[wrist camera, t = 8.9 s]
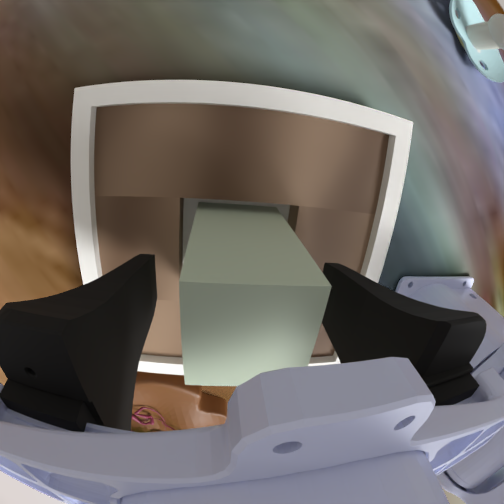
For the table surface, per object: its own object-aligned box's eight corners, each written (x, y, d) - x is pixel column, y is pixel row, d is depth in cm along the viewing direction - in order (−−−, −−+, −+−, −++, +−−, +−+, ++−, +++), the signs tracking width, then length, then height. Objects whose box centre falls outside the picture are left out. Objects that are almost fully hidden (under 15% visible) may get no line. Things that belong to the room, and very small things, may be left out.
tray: (383, 120, 14) (413, 122, 11) (331, 342, 20) (344, 370, 18) (99, 93, 12) (74, 87, 9) (115, 337, 18) (104, 366, 15)
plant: (99, 452, 27) (88, 518, 17) (21, 354, 19) (-23, 441, 8) (243, 457, 28) (253, 533, 18) (223, 356, 20) (235, 497, 10)
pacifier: (461, -5, 10) (427, 2, 10) (512, -17, 4) (486, -18, 5) (499, 70, 12) (472, 87, 13) (552, 72, 7) (535, 90, 7)
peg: (276, 206, 15) (331, 286, 7) (266, 275, 16) (301, 383, 9) (198, 201, 14) (178, 281, 7) (196, 272, 16) (185, 384, 8)
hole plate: (373, 133, 14) (389, 135, 12) (325, 340, 19) (332, 355, 18) (108, 108, 11) (96, 107, 10) (123, 335, 17) (117, 351, 16)
